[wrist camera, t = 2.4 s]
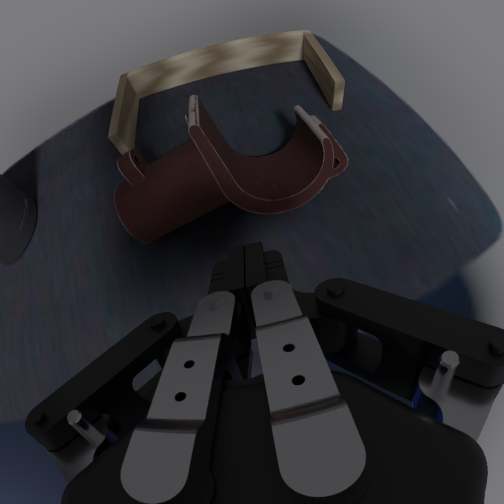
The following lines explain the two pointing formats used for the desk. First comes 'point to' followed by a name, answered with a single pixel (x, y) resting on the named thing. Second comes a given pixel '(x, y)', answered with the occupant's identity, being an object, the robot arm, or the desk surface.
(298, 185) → the bracket
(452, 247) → the desk surface
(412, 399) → the robot arm
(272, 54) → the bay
